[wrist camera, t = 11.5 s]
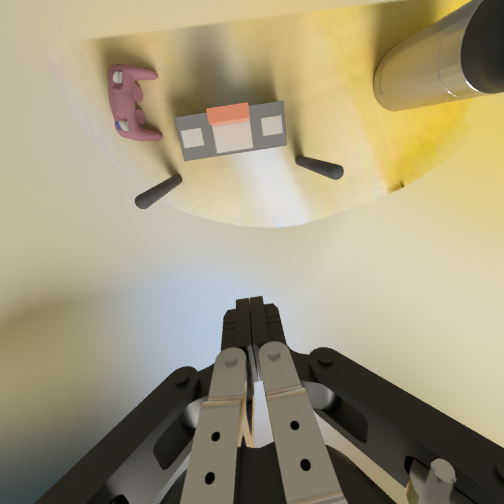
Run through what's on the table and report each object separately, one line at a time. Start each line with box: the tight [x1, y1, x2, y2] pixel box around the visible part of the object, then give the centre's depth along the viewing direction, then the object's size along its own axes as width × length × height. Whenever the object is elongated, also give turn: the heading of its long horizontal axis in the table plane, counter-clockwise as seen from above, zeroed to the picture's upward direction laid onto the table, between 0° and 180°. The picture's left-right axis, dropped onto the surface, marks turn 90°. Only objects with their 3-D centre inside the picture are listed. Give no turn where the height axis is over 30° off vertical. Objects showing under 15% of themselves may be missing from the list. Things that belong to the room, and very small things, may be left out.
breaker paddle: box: [206, 102, 250, 127], centre depth 33 cm, size 5×2×7 cm, turn 98°
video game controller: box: [108, 64, 163, 141], centre depth 37 cm, size 10×5×7 cm, turn 177°
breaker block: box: [174, 101, 287, 161], centre depth 40 cm, size 16×6×5 cm, turn 98°
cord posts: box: [135, 156, 344, 209], centre depth 36 cm, size 24×2×18 cm, turn 98°
